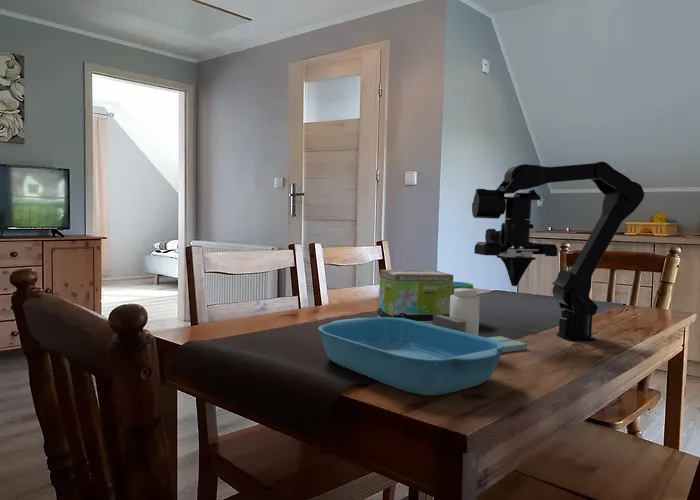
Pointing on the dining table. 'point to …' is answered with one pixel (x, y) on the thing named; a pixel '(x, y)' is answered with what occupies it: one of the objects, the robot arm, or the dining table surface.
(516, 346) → the stud rail
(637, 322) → the dining table surface
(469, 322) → the white pill bottle
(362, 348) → the casserole dish
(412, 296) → the tea box
